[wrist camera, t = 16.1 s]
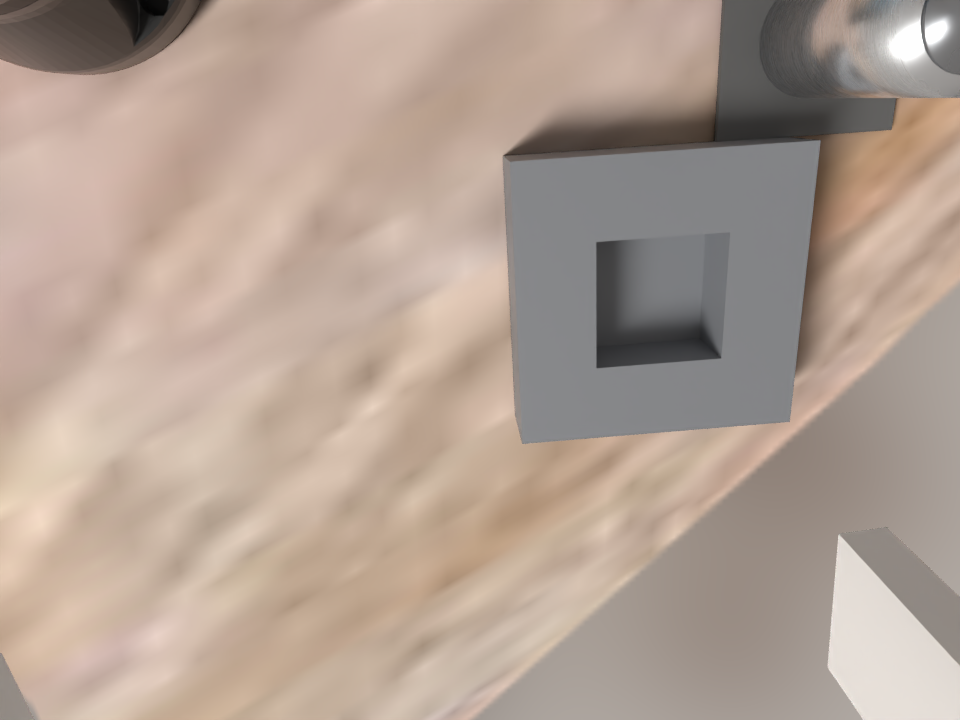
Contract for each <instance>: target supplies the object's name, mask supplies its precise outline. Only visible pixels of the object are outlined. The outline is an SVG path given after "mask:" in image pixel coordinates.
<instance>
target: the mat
mask: <svg viewBox="0 0 960 720" xmlns="http://www.w3.org/2000/svg"><path fill="white" fill-rule="evenodd" d="M775 1H776V0H722V14H721V32H720V49H719V66H718V84H717V101H716V119H715V136H714V141H715V142H721V141H736V140H750V139H765V138H780V137H794V136H809V135H823V134H838V133H853V132H867V131H882V130H892V123H893V116H894V109H895V102H896V98H796V97H792V96H789V95H787V94H785V93H783V92H781V91H780V90H778V89H777V88H776V87H775V86H774V85H773V84H772V83H771V82H770V80H769V79H768V78H767V76H766V74H765V72H764V70H763V67H762V64H761V60H760V52H759V41H760V34H761V30H762V26H763V23H764V21H765V18H766V16H767V14H768V12H769V10H770V8H771V7H772V5H773V4H774V2H775Z"/></svg>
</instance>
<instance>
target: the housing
mask: <svg viewBox="0 0 960 720" xmlns="http://www.w3.org/2000/svg"><path fill="white" fill-rule="evenodd" d="M820 142H821V140H813V139H802V138H792V137H780V138H765V139H750V140H736V141H721V142H715V141H713V142H698V143H684V144H669V145H655V146H640V147H625V148H611V149H596V150H582V151H567V152H552V153H538V154H523V155H509V156H503V172H504V193H505V214H506V235H507V256H508V277H509V298H510V319H511V340H512V361H513V382H514V403H515V416H516V421H517V425H518V429H519V433H520V437H521V441H522V444H526V443H538V442H550V441H562V440H574V439H587V438H599V437H611V436H623V435H635V434H647V433H659V432H671V431H684V430H696V429H708V428H720V427H732V426H744V425H756V424H768V423H781V422H790V414H791V405H792V396H793V387H794V378H795V369H796V360H797V351H798V341H799V332H800V323H801V314H802V305H803V296H804V287H805V278H806V269H807V260H808V251H809V242H810V233H811V223H812V214H813V205H814V196H815V187H816V178H817V169H818V160H819V151H820Z"/></svg>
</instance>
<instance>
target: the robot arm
mask: <svg viewBox="0 0 960 720" xmlns="http://www.w3.org/2000/svg"><path fill="white" fill-rule="evenodd" d="M200 1H201V0H0V59H2V60H4V61H7V62H10V63H13V64H15V65H19V66H22V67H26V68H29V69H34V70H39V71H45V72H53V73H64V74H78V75H95V74H104V73H110V72H115V71H119V70H123V69H126V68H129V67H132V66H134V65H137V64H139V63H141V62H143V61H145V60H147V59H149V58H150V57H152V56H154V55H155V54H157V53H158V52H160V51H161V50H162V49H164V48H165V47H166V46H167V45H168V44H170V43H171V42H172V41H173V40H174V39H175V38H176V37H177V36H178V35H179V34H180V32H181V31H182V30H183V29H184V27H185V26H186V25H187V23H188V22H189V21H190V19H191V18H192V16H193V14H194V13H195V11H196V9H197V7H198V5H199V3H200ZM828 668H829V670H830V672H831V673H832V674H833V676H834V677H835V679H836V680H837V682H838V683H839V685H840V686H841V688H842V689H843V691H844V692H845V693H846V695H847V696H848V698H849V699H850V701H851V702H852V704H853V705H854V707H855V708H856V709H857V711H858V712H859V714H860V715H861V717H862V718H863V720H960V597H959V596H958V595H957V594H956V593H955V592H954V591H953V590H952V589H951V588H950V587H949V586H948V585H947V584H946V583H944V581H942V580H941V579H940V578H939V577H938V576H937V575H936V574H935V573H934V572H933V571H932V570H931V569H930V568H929V567H928V566H927V565H926V564H924V562H922V560H921V559H919V558H918V557H917V556H916V555H915V554H914V553H913V552H912V551H911V550H910V549H909V548H908V547H907V546H906V545H905V544H904V543H903V542H902V541H901V540H900V539H899V538H898V537H897V536H896V535H895V534H893V533H892V532H891V531H890V530H889V529H888V528H887V527H884V528H877V529H870V530H862V531H855V532H849V533H842V534H839V536H838V548H837V560H836V572H835V584H834V596H833V608H832V620H831V632H830V644H829V657H828ZM0 720H34V718H33V716H32V714H31V712H30V710H29V708H28V705H27V703H26V701H25V699H24V697H23V695H22V693H21V691H20V689H19V687H18V685H17V683H16V681H15V679H14V677H13V675H12V673H11V671H10V669H9V667H8V665H7V663H6V661H5V659H4V657H3V655H2V653H0Z"/></svg>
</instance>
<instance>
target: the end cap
mask: <svg viewBox="0 0 960 720" xmlns="http://www.w3.org/2000/svg"><path fill="white" fill-rule="evenodd" d="M759 52H760V60H761V64H762V67H763V70H764V72H765V74H766V76H767V78H768V79H769V80H770V82H771V83H772V84H773V85H774V86H775V87H776V88H777V89H778V90H780V91H781V92H783V93H785V94H787V95H789V96H792V97H796V98H960V0H776V1H775V2H774V4H773V5H772V7H771V8H770V10H769V12H768V14H767V16H766V18H765V21H764V23H763V26H762V30H761V34H760V41H759Z"/></svg>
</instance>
